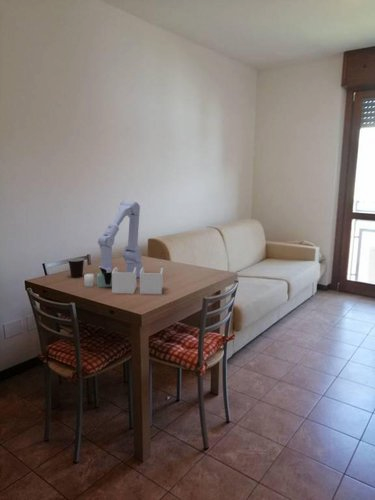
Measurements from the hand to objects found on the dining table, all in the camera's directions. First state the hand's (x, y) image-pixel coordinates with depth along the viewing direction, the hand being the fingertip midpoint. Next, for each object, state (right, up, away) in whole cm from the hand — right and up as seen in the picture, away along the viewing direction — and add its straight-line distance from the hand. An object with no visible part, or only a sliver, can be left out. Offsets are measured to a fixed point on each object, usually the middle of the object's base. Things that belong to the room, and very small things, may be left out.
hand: (106, 282), depth 200 cm
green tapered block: (0, -2, 0) cm, 2 cm away
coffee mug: (-20, +2, +17) cm, 26 cm away
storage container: (+18, -4, -6) cm, 19 cm away
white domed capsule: (-9, -2, -1) cm, 9 cm away
